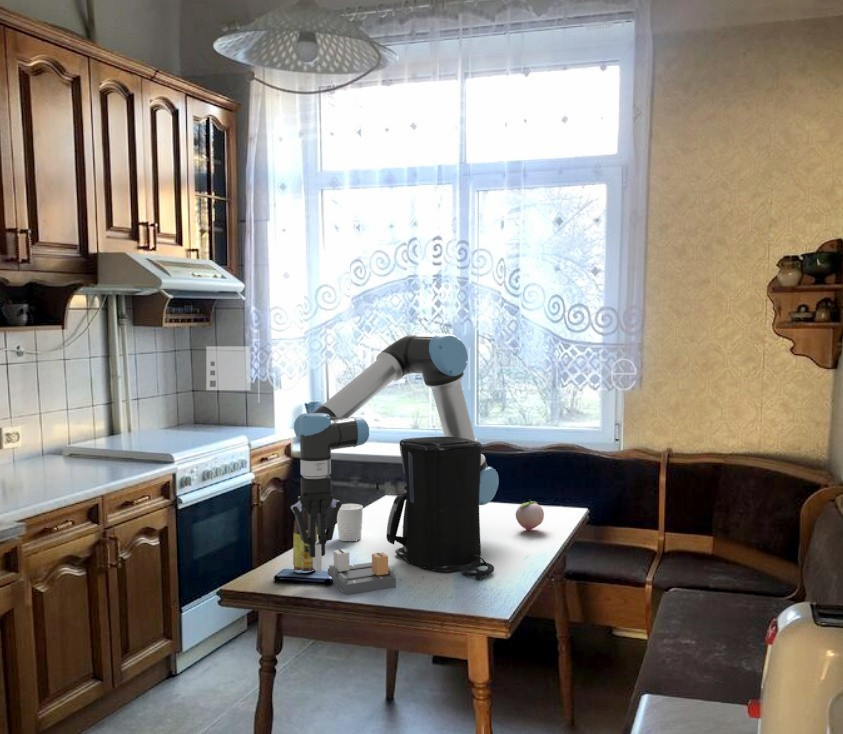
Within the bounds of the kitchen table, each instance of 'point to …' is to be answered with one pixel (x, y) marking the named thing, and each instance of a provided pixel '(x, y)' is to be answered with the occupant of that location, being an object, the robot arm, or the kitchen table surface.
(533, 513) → the decorative fruit
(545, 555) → the kitchen table surface
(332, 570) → the panel
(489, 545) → the kitchen table surface
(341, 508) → the white cup
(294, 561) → the sauce bottle
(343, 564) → the white fader
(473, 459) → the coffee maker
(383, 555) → the orange fader
